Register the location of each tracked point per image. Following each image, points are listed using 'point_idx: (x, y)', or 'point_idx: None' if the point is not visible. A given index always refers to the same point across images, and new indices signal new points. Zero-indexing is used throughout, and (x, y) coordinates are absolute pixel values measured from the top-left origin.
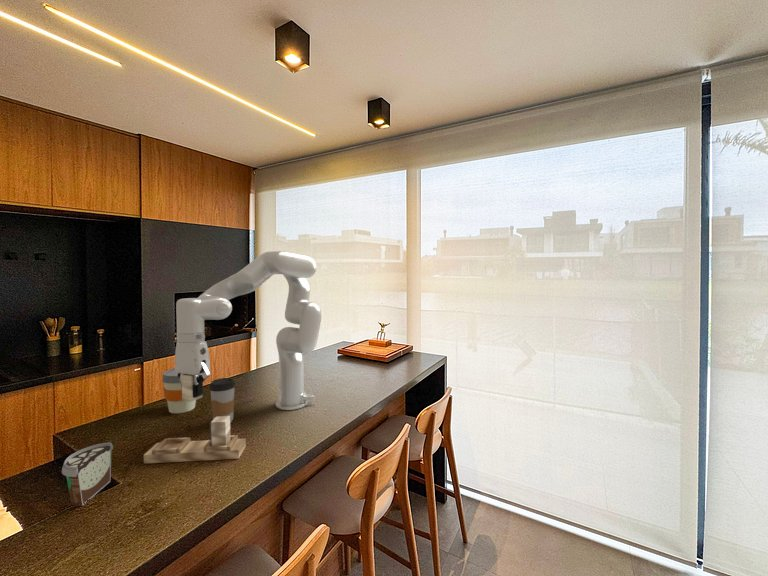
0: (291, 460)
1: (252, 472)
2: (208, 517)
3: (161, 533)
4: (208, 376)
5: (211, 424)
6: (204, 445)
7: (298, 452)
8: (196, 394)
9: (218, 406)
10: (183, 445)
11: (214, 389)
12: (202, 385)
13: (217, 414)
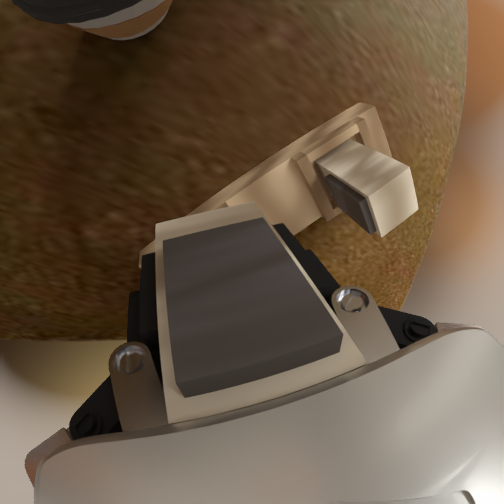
0: (459, 123)
1: (424, 184)
2: (413, 279)
3: None
4: (462, 326)
5: (377, 232)
6: (294, 194)
7: (459, 92)
8: None
9: (146, 19)
10: None
11: (110, 6)
12: (315, 265)
13: (139, 30)
